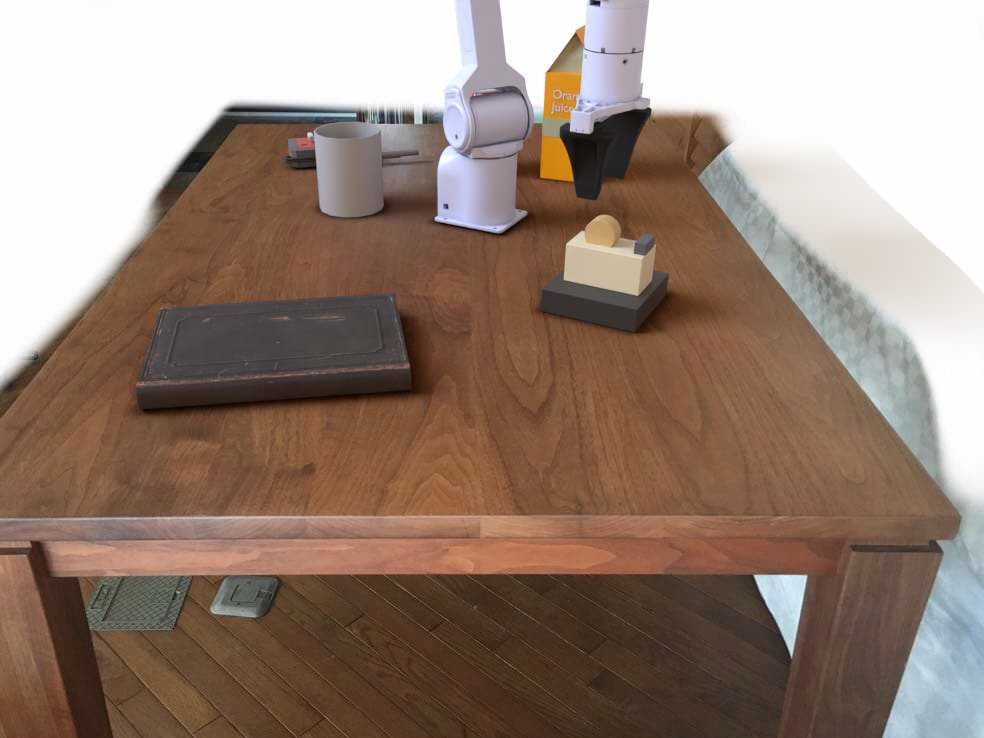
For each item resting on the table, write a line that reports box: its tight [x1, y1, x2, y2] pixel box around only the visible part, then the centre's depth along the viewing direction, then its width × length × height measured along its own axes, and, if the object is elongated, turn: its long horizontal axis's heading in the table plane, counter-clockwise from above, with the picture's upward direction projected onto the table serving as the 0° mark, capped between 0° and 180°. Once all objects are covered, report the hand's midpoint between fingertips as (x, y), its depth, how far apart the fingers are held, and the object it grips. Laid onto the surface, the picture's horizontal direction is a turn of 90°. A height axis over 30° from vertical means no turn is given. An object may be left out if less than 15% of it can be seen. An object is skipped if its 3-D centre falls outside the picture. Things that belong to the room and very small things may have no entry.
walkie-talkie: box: [283, 132, 420, 169], centre depth 136 cm, size 9×4×20 cm
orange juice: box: [539, 24, 585, 183], centre depth 126 cm, size 8×9×20 cm
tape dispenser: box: [563, 214, 657, 296], centre depth 91 cm, size 8×4×7 cm, turn 60°
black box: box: [540, 269, 670, 333], centre depth 93 cm, size 10×10×2 cm
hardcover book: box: [135, 292, 412, 410], centre depth 83 cm, size 16×23×2 cm
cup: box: [313, 121, 385, 218], centre depth 117 cm, size 8×8×10 cm
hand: (600, 187), depth 93 cm, fingers open, 7 cm apart
